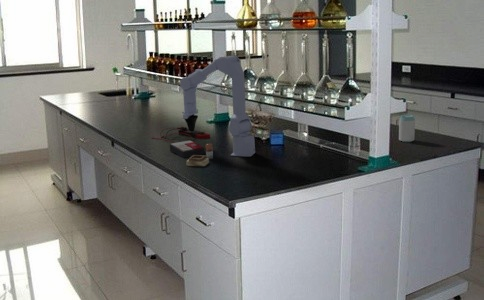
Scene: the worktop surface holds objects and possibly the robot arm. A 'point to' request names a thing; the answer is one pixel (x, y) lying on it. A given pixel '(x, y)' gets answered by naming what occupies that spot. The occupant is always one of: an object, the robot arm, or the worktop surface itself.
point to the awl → (209, 151)
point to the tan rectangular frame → (197, 160)
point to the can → (406, 128)
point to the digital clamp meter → (187, 134)
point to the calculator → (186, 149)
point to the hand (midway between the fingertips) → (191, 131)
